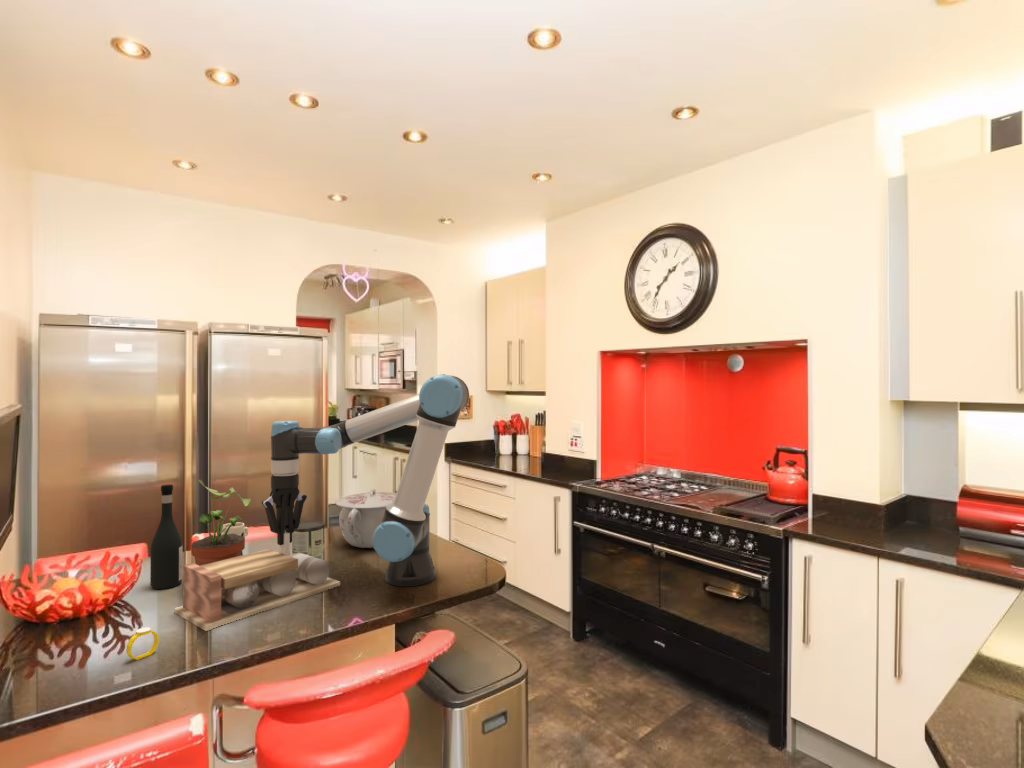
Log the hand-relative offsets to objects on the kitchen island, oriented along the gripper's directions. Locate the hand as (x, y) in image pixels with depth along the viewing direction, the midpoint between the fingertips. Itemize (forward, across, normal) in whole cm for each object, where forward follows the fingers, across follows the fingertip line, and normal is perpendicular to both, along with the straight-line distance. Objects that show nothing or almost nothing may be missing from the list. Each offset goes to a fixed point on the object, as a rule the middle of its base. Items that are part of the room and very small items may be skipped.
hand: (284, 555), depth 157 cm
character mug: (+11, -3, -38) cm, 40 cm away
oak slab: (+2, +11, 0) cm, 11 cm away
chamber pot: (+11, -46, -19) cm, 51 cm away
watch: (+11, +40, +11) cm, 43 cm away
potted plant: (+11, +9, -20) cm, 24 cm away
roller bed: (+10, +7, 0) cm, 12 cm away
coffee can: (+11, -16, -14) cm, 24 cm away
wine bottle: (+11, +19, -33) cm, 39 cm away
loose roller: (+9, +14, 0) cm, 17 cm away
